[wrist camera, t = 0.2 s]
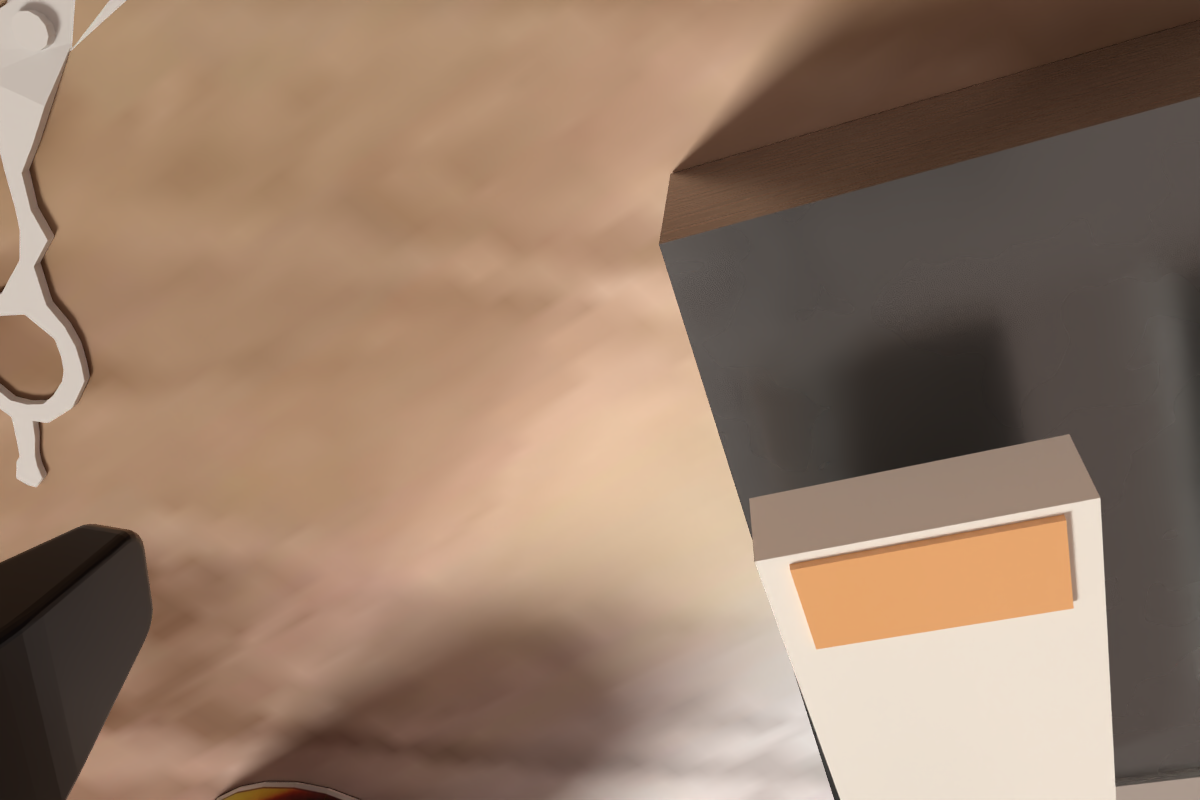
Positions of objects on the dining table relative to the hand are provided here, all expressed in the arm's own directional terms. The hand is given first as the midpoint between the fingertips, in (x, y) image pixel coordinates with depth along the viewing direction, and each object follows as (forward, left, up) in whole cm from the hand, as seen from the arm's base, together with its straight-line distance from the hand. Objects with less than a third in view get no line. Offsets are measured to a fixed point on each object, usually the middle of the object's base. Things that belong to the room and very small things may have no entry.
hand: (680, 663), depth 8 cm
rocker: (-9, -2, -8) cm, 12 cm away
